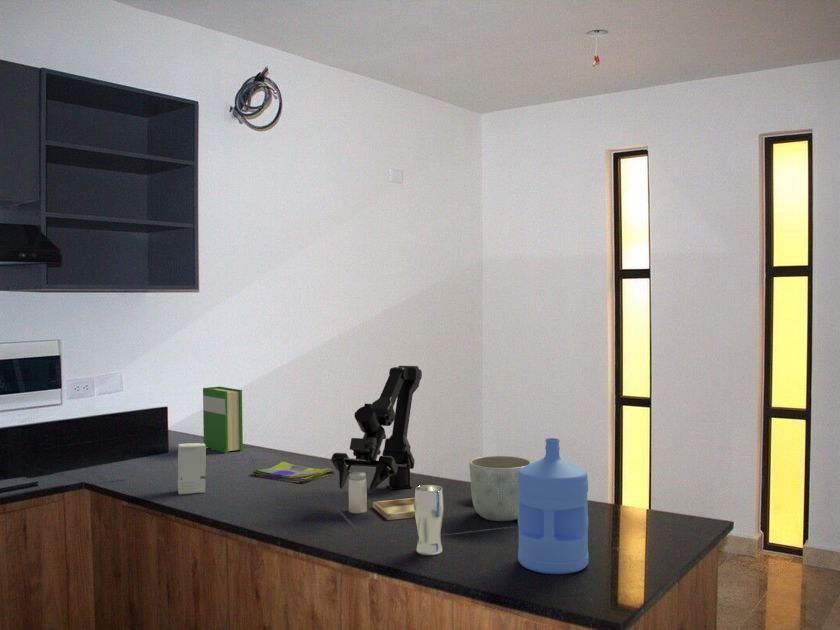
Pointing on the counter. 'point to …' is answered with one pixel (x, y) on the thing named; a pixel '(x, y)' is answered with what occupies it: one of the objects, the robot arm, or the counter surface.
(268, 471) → the dish towel
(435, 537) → the beer glass
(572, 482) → the water jug
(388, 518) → the tray
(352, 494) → the ball
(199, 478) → the skincare box
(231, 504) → the counter surface
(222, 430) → the hardback book
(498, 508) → the planter
